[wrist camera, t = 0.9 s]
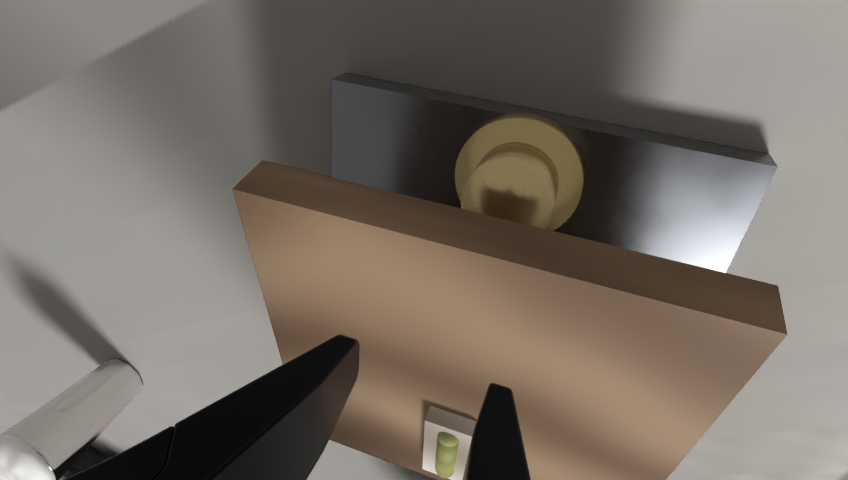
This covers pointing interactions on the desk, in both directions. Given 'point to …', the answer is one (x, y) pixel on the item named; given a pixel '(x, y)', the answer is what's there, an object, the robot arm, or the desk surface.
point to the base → (614, 164)
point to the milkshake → (67, 424)
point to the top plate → (501, 328)
